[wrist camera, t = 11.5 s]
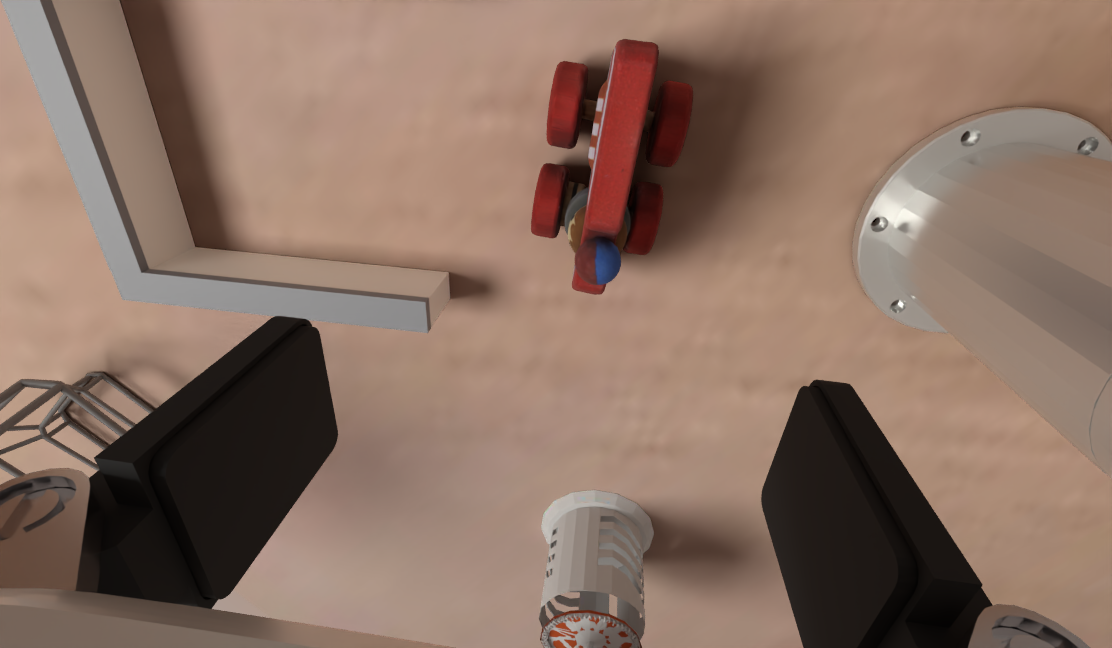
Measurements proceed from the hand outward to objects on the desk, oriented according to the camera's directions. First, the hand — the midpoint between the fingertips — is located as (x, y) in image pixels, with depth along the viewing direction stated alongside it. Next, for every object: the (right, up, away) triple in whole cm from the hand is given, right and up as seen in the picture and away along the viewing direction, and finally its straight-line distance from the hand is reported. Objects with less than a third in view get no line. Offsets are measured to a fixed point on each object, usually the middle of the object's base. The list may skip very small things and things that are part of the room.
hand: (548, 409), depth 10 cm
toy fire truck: (+3, +11, +20) cm, 23 cm away
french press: (+4, -17, +35) cm, 39 cm away
